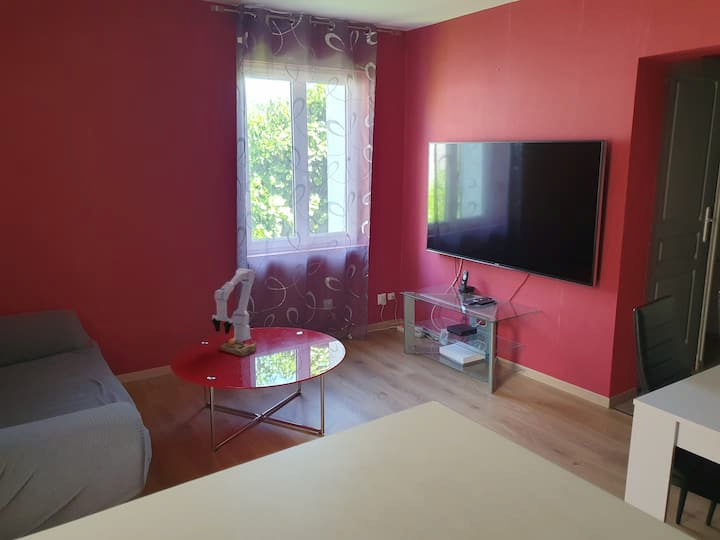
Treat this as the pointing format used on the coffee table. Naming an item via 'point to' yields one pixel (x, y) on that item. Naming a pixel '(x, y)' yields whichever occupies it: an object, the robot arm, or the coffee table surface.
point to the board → (238, 348)
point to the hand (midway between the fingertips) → (222, 332)
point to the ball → (231, 341)
